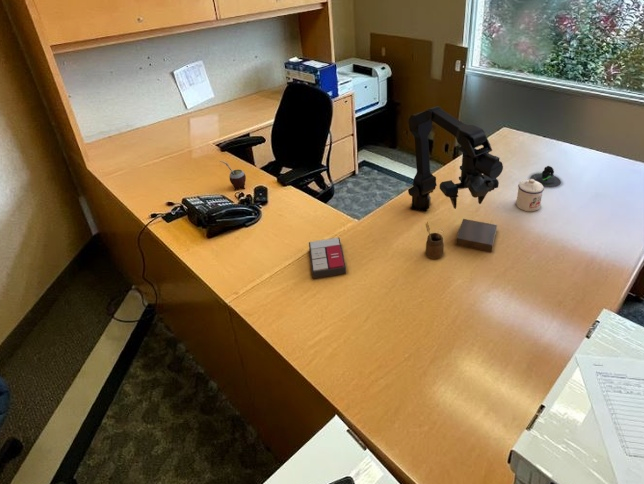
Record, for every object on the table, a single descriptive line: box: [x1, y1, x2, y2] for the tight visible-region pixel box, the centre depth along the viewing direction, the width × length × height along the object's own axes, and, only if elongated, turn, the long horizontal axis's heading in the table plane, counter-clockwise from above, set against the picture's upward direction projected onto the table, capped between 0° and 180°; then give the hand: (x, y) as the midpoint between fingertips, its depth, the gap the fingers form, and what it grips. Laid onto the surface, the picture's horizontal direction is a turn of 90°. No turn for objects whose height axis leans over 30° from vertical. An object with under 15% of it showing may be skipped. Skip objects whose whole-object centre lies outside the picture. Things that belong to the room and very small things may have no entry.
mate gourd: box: [219, 160, 247, 191], centre depth 185 cm, size 8×8×15 cm
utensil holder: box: [425, 221, 445, 260], centre depth 138 cm, size 6×6×12 cm
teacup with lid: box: [515, 178, 545, 212], centre depth 160 cm, size 12×9×12 cm
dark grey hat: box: [529, 165, 562, 188], centre depth 175 cm, size 12×12×12 cm
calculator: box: [308, 237, 347, 280], centre depth 140 cm, size 11×4×15 cm
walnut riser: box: [455, 218, 498, 253], centre depth 146 cm, size 12×12×3 cm
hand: (467, 205), depth 142 cm, fingers open, 9 cm apart
